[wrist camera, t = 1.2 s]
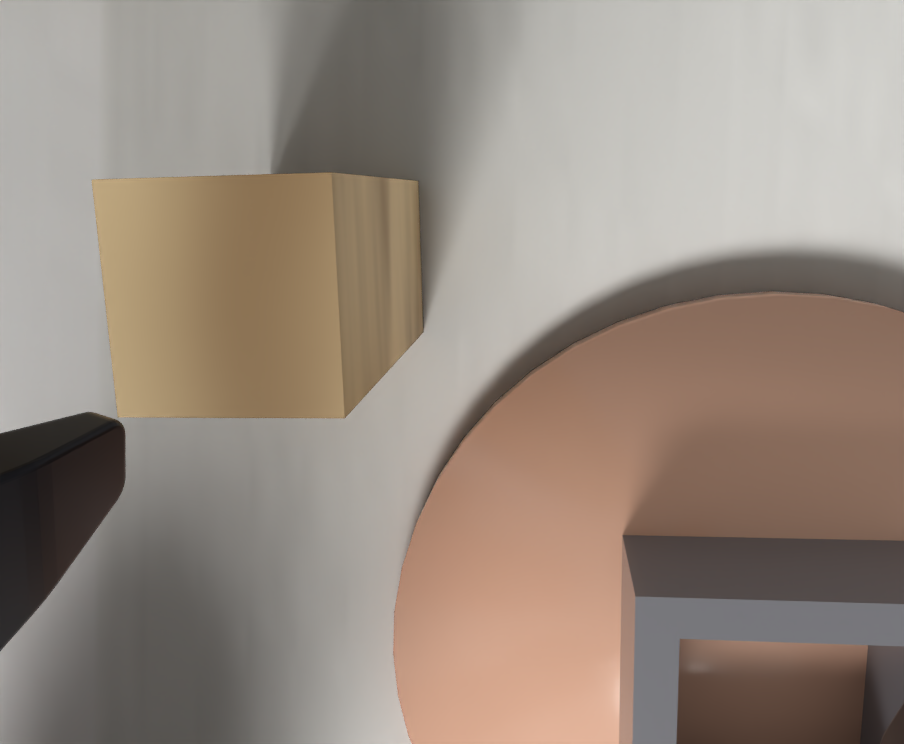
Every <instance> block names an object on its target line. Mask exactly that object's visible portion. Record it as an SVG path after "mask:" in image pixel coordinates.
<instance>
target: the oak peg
mask: <svg viewBox="0 0 904 744" xmlns="http://www.w3.org/2000/svg"><path fill="white" fill-rule="evenodd" d="M92 187H93V197H94V206H95V215H96V224H97V233H98V242H99V251H100V260H101V269H102V278H103V287H104V296H105V305H106V314H107V323H108V333H109V342H110V351H111V360H112V369H113V378H114V387H115V396H116V405H117V414H118V417H174V418H345V417H346V416H347V415H348V414H349V413H350V412H351V411H352V410H353V409H354V407H355V406H356V405H357V404H358V403H359V402H360V401H361V400H362V399H363V398H364V397H365V395H366V394H367V393H368V392H369V391H370V390H371V389H372V388H373V387H374V386H375V385H376V383H377V382H378V381H379V380H380V379H381V378H382V377H383V376H384V375H385V374H386V373H387V371H388V370H389V369H390V368H391V367H392V366H393V365H394V364H395V363H396V362H397V360H398V359H399V358H400V357H401V356H402V355H403V354H404V353H405V352H406V351H407V350H408V348H409V347H410V346H411V345H412V344H413V343H414V342H415V341H416V340H417V339H418V338H419V336H420V335H421V334H422V333H423V306H422V276H421V246H420V216H419V186H418V181H414V180H404V179H393V178H383V177H373V176H363V175H353V174H343V173H333V172H328V173H294V174H261V175H228V176H195V177H162V178H129V179H96V180H92Z"/></svg>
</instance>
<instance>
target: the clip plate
mask: <svg viewBox="0 0 904 744" xmlns="http://www.w3.org/2000/svg"><path fill="white" fill-rule="evenodd" d="M393 655H394V664H395V672H396V681H397V690H398V697H399V701H400V704H401V708H402V712H403V716H404V720H405V724H406V728H407V732H408V735H409V738H410V740H411V743H412V744H880V742H881V739H882V737H883V734H884V733H885V731H886V729H887V728H888V726H889V724H890V723H891V721H892V720H893V718H894V717H895V715H896V714H897V712H898V711H899V709H900V707H901V706H902V704H903V703H904V312H901V311H898V310H895V309H892V308H888V307H885V306H882V305H879V304H876V303H871V302H865V301H860V300H854V299H849V298H843V297H837V296H832V295H826V294H815V293H795V292H775V291H766V292H753V293H740V294H727V295H716V296H711V297H706V298H701V299H696V300H691V301H686V302H681V303H677V304H672V305H667V306H664V307H661V308H658V309H655V310H652V311H649V312H646V313H643V314H640V315H637V316H634V317H631V318H628V319H625V320H622V321H619V322H617V323H615V324H612V325H610V326H608V327H606V328H604V329H602V330H600V331H598V332H596V333H594V334H592V335H590V336H588V337H586V338H584V339H582V340H580V341H578V342H575V343H573V344H572V345H570V346H569V347H567V348H566V349H564V350H562V351H561V352H559V353H558V354H556V355H555V356H553V357H552V358H550V359H549V360H547V361H546V362H544V363H543V364H541V365H540V366H538V367H537V368H535V369H534V370H532V371H531V372H530V373H528V374H527V375H526V376H525V377H524V378H523V379H521V380H520V381H519V382H518V383H517V384H516V385H514V386H513V387H512V388H511V389H510V390H509V391H508V392H506V393H505V394H504V395H503V396H502V397H501V398H499V399H498V400H497V401H496V402H495V403H494V404H493V405H492V406H491V407H490V409H489V410H488V411H487V412H486V413H485V414H484V415H483V416H482V418H481V419H480V420H479V421H478V422H477V423H476V424H475V425H474V427H473V428H472V429H471V430H470V431H469V432H468V433H467V434H466V436H465V437H464V438H463V440H462V441H461V443H460V444H459V446H458V447H457V449H456V450H455V452H454V453H453V455H452V456H451V458H450V459H449V461H448V462H447V464H446V465H445V467H444V468H443V470H442V471H441V473H440V474H439V476H438V478H437V481H436V483H435V485H434V487H433V489H432V491H431V493H430V495H429V497H428V499H427V501H426V503H425V505H424V507H423V509H422V511H421V514H420V516H419V519H418V521H417V523H416V526H415V529H414V532H413V535H412V538H411V541H410V544H409V548H408V551H407V554H406V557H405V560H404V563H403V566H402V570H401V576H400V582H399V588H398V593H397V599H396V605H395V611H394V648H393Z"/></svg>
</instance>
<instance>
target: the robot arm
mask: <svg viewBox="0 0 904 744" xmlns="http://www.w3.org/2000/svg"><path fill="white" fill-rule="evenodd" d="M124 483H125V429H124V427H123V425H122V423H120V422H119V421H118V420H115V419H112V418H109V417H106V416H103V415H100V414H97V413H92V412H86V413H81V414H77V415H73V416H69V417H65V418H61V419H57V420H53V421H49V422H45V423H40V424H36V425H32V426H28V427H24V428H20V429H16V430H12V431H8V432H4V433H0V651H1V650H2V649H3V647H4V646H5V645H6V644H7V643H8V642H9V641H10V640H11V638H12V637H13V636H14V635H15V634H16V633H17V632H18V631H19V629H20V628H21V627H22V626H23V625H24V624H25V623H26V622H27V620H28V619H29V618H30V617H31V616H32V615H33V614H34V612H35V611H36V610H37V609H38V608H39V606H40V605H41V604H42V603H43V602H44V601H45V599H46V598H47V597H48V595H49V594H50V593H51V591H52V590H53V589H54V588H55V586H56V585H57V584H58V582H59V581H60V579H61V578H62V577H63V575H64V574H65V572H66V571H67V570H68V568H69V567H70V565H71V564H72V563H73V561H74V560H75V558H76V557H77V556H78V554H79V553H80V552H81V550H82V549H83V547H84V546H85V545H86V543H87V542H88V540H89V539H90V538H91V536H92V535H93V533H94V532H95V531H96V529H97V528H98V526H99V525H100V524H101V522H102V521H103V519H104V518H105V517H106V515H107V514H108V512H109V511H110V510H111V508H112V507H113V505H114V504H115V503H116V501H117V500H118V498H119V496H120V494H121V492H122V490H123V487H124ZM880 744H904V703H903V704H902V706H901V707H900V709H899V711H898V712H897V714H896V715H895V717H894V718H893V720H892V721H891V723H890V724H889V726H888V728H887V729H886V731H885V733H884V734H883V737H882V739H881V742H880Z"/></svg>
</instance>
